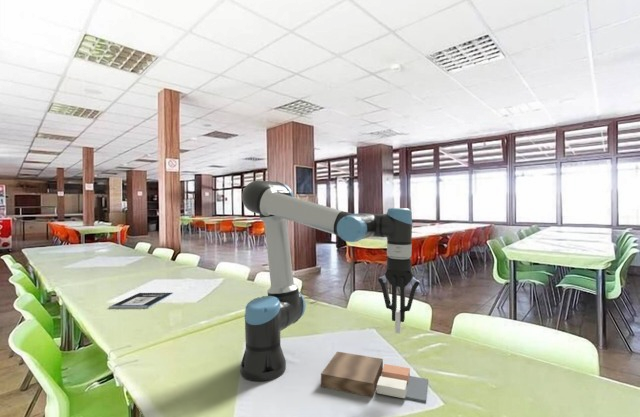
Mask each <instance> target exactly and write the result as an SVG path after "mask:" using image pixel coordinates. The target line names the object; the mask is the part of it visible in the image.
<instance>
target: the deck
mask: <svg viewBox="0 0 640 417" xmlns="http://www.w3.org/2000/svg"><path fill="white" fill-rule="evenodd" d="M383 360H384V359H383V358H381V357H374V356H369V355H368V356H367V355H361V354H355V353H351V352H350V353H348V352H342V351H336V353H335V354H334V355H333V356H332V358H331V359H330V360H329V362H328V363H327V365H326V366H325V368H324V369H323V370H322V372H321V373H320V387H322V388H326V389H330V390H331V389H332V390H336V391H340V392H345V393H349V394H357V395H361V396H364V397H365V396H366V397H370V398H373V397H374V395H375V392H376V390H377V383H378V380H379V378H380V376H382V370H383V367H384V361H383Z"/></svg>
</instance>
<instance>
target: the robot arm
mask: <svg viewBox="0 0 640 417" xmlns="http://www.w3.org/2000/svg"><path fill="white" fill-rule="evenodd" d="M241 193H242V195H241V199H242V203H243V205H244V207H245V208H246V209H247V210H248V211H250V213H251V212H252V213H255V214H259V220H261V221H262V222H263V224H264V231H265V232H264V233H265V240H266V243H265V244H266V250H267V261H268V269H269V280H270V287H269V289H267V295H263V296H261V297H260V296H259V297H255V298H253V299H251V300H250V301H249V302H247V304H246V305H245V310H244V311H245V312H244V327H245V328H244V329H245V332H244V335H245V350H244V353H243V356H242V360H241V362H240V375H241V377H243V378H244V379H246V380H249V381H254V382H265V381H270V380H274V379H276V378H279V377H280V376H282V375H283V374H284V373H285V372H286V370H287V369H286V368H287V361H286V358H285V355H284V352H283V348H282V345H281V331H284V330H285V329H286V328H288V327H290V326H291V325H293V324H295V323H297V322H298V321H299V320H300V319H301V318H302V317H303V316H304V315H305V311H306V305H307V304H306V300H305V297H304V295H303V294H302V293H301V292H300V291H299V286H298V285H296V283H295V282H294V274H293V265H292V256H291V244H290V235H289V227H288V221H291V222H293V223H297V224H300V225H304V226H307V227H309V228H313V229H316V230H318V231H322V232H325V233H329V234H332V235H335V236H338V237H339V238H340V239H341V240H343V241H344V242H347V243H354V242H355V243H357V242H359V241H361V240H364V239H367V238H386V240H387V241H386V256H387V257H386V271H385V273H384V275H383V276H379V278H377V281H378V283H379V285H380V287H381V291H382V294H383V299H384V303H385V304H384V305H385V308H386V309H389V310H390V311H391V321H392V322H394V325H395V326H394V332H395V334H400V333H401V331H402V323H404V322H405V319H406V318H405V317H406V315H405V314H406V312H410V311H411V308H412V304H413V300H414V298H415V293H416V290H417V288H418V286H419V285H420V283H421V281H420V280H419V279H417V278H415V277H414V275H413V273H412V258H411V257H412V252H413V249H412V248H413V246H412V245H413V244H412V242H413V241H412V240H413V237H412V235H413V232H412V231H413V220H412V219H413V218H412V217H413V216H412V210H411V209H410V208H408V207H407V208H405V207H389V208H388V209H387V212H386V213H364V212H362V213H361V212H360V213H359V212H358V213H352V212H347V211H343V210H340V209H336V208H334V207H330V206H326V205H323V204H319V203H315V202H312V201H308V200H305V199H302V198H298V197H295V196H294V192H293V190H292V189H291V187H290V186H289V185H287V184H286V183H283V182H279V181H269V180H268V181H267V180H254V181H251V182H249V183H248V184H247V185H246V186H245V187H244V188H243V190H242V192H241ZM387 282H388V283H389V284H390V285H391V298H390V294H389V291H388V290H389V289H388V285H387ZM410 282H411V286H412V287H411V289H410V293H409V297H408V300H407V305H406V287H407V285H409V283H410ZM398 287H399V291H400V292H399V297H400V299H399V302H400V303H399V304H400V305H399V306H400V307H399V309H397V307H398V306H397V304H398V301H397V300H398V299H397V298H398Z"/></svg>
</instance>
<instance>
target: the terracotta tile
mask: <svg viewBox="0 0 640 417" xmlns="http://www.w3.org/2000/svg"><path fill="white" fill-rule="evenodd" d="M410 370H411V368H410V367H406V366H405V367H404V366H399V365H393V364H387V363H383V370H382V374H381V376H382V377H388V378H393V379H399V380H405V381H407V384H408V382H409V377H410V376H411V373H410V372H411V371H410Z"/></svg>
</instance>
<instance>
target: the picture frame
mask: <svg viewBox="0 0 640 417" xmlns="http://www.w3.org/2000/svg"><path fill="white" fill-rule="evenodd" d="M173 294H174V292H138V293H135V294H133V295H131V296H130V297H127V298H125V299H123V300H121V301H119V302H117V303H114V304H112V305H110V306H109V307H108V308H109V310H112V309H113V310H114V309H115V310H117V309H118V310H131V309H132V310H134V309H135V310H137V309H139V310H142V309H143V310H144V309H150V308H152V307H153V306H155V305H157V304H158V303H160V302H161V301H163V300H165V299H167V298H169V297H170V296H172V295H173Z"/></svg>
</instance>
